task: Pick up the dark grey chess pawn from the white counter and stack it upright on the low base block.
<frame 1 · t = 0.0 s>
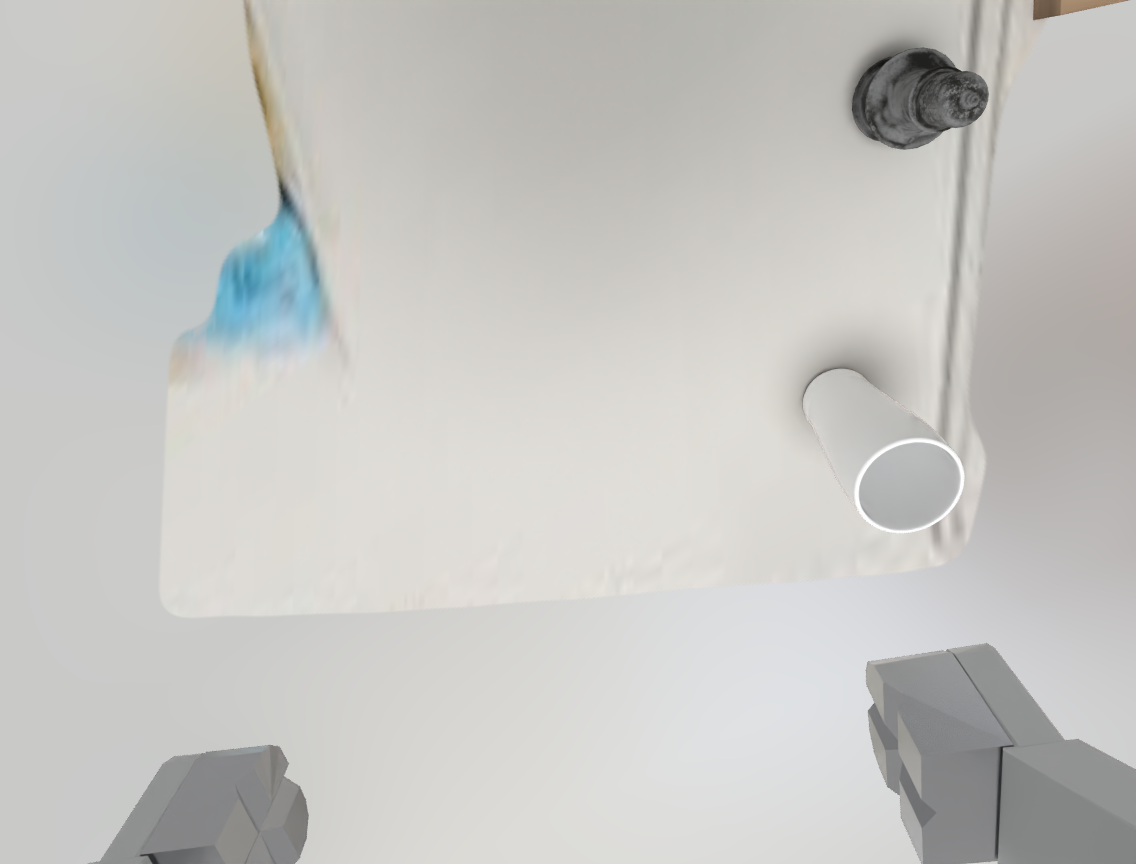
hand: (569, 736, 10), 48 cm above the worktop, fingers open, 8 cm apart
drinking glass: (834, 397, 59), on the worktop
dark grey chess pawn: (891, 99, 51), on the worktop
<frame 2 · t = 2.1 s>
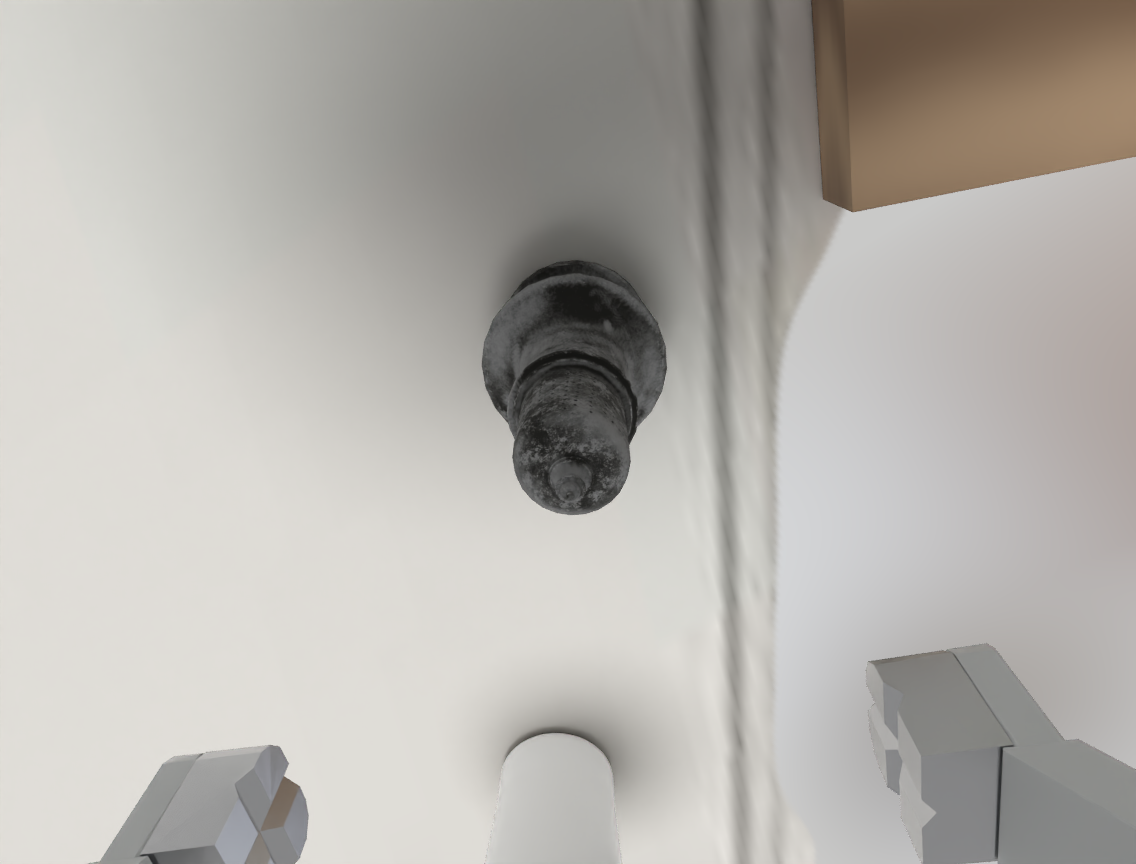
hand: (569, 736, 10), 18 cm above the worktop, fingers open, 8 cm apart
drinking glass: (557, 764, 36), on the worktop
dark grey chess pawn: (575, 332, 27), on the worktop
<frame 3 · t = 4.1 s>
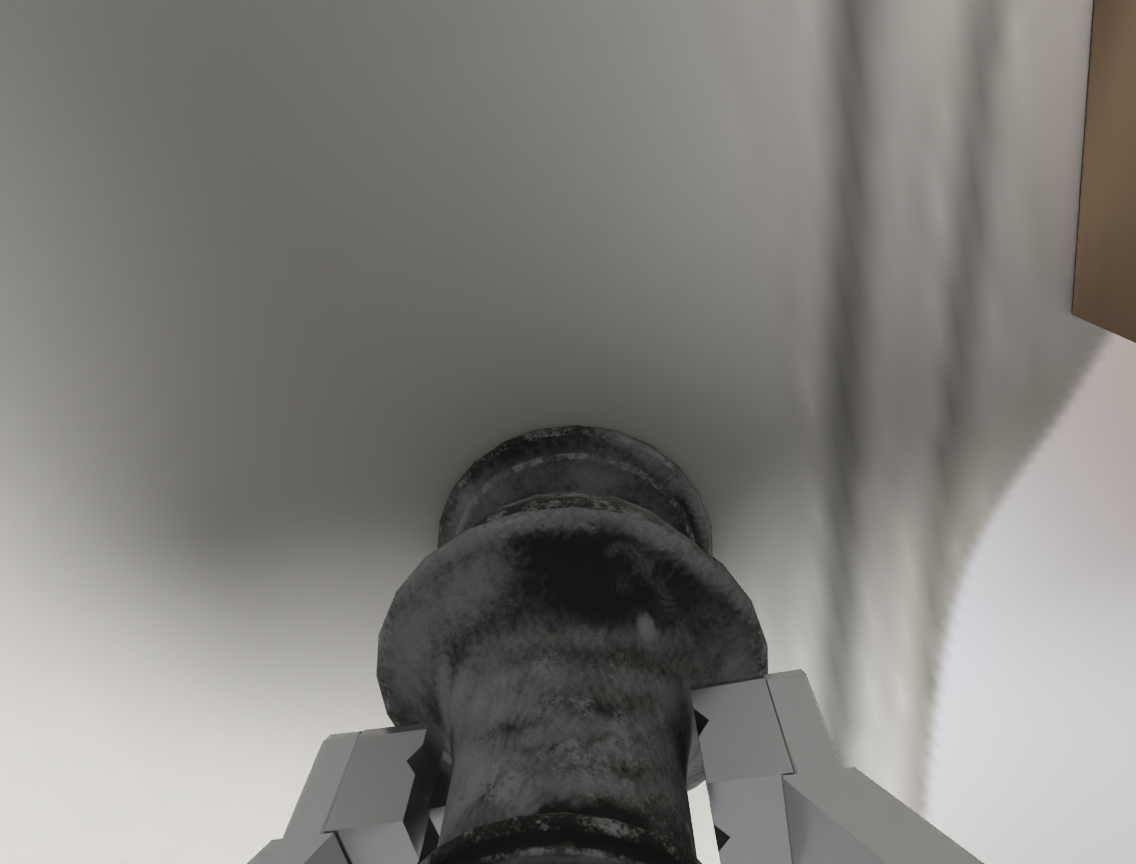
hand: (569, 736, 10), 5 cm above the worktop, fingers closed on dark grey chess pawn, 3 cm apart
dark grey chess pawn: (574, 545, 15), on the worktop, touching gripper
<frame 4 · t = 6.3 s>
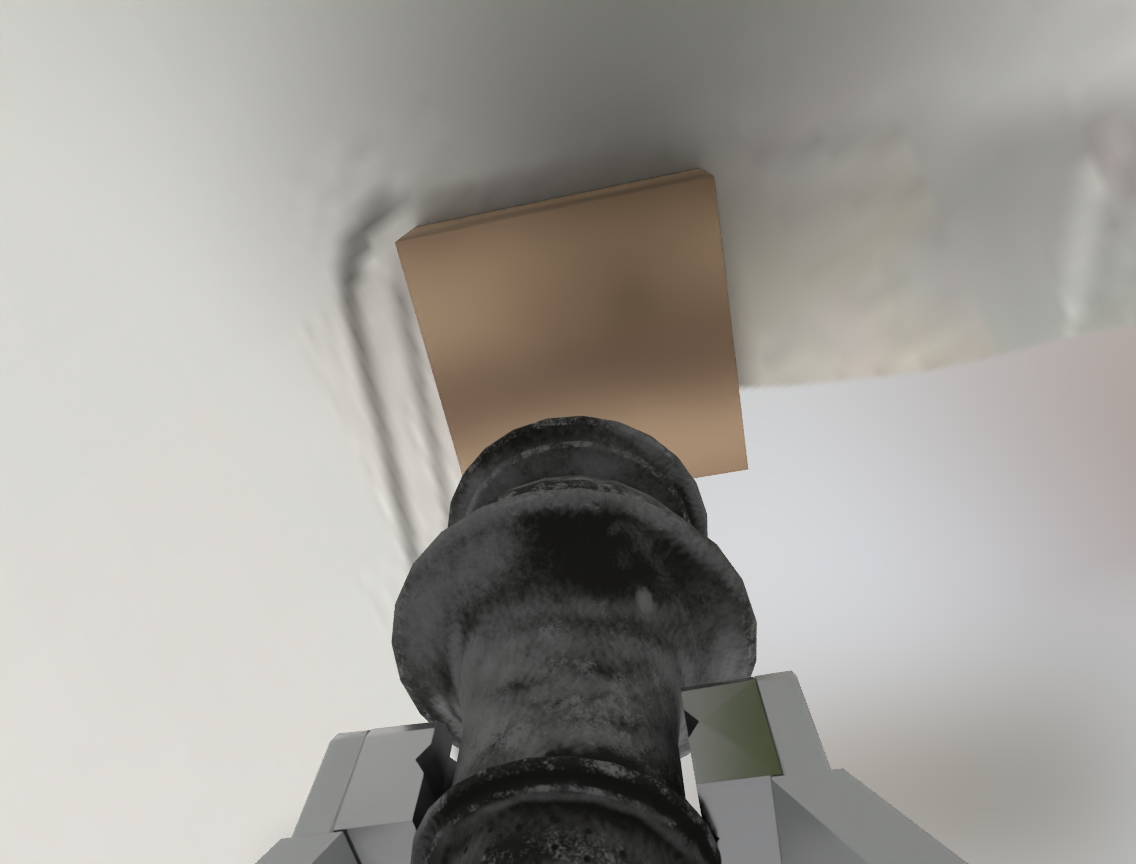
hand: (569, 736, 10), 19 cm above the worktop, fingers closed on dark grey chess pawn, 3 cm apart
base block: (582, 336, 28), on the worktop
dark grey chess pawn: (577, 529, 15), point 13 cm above the worktop, touching gripper
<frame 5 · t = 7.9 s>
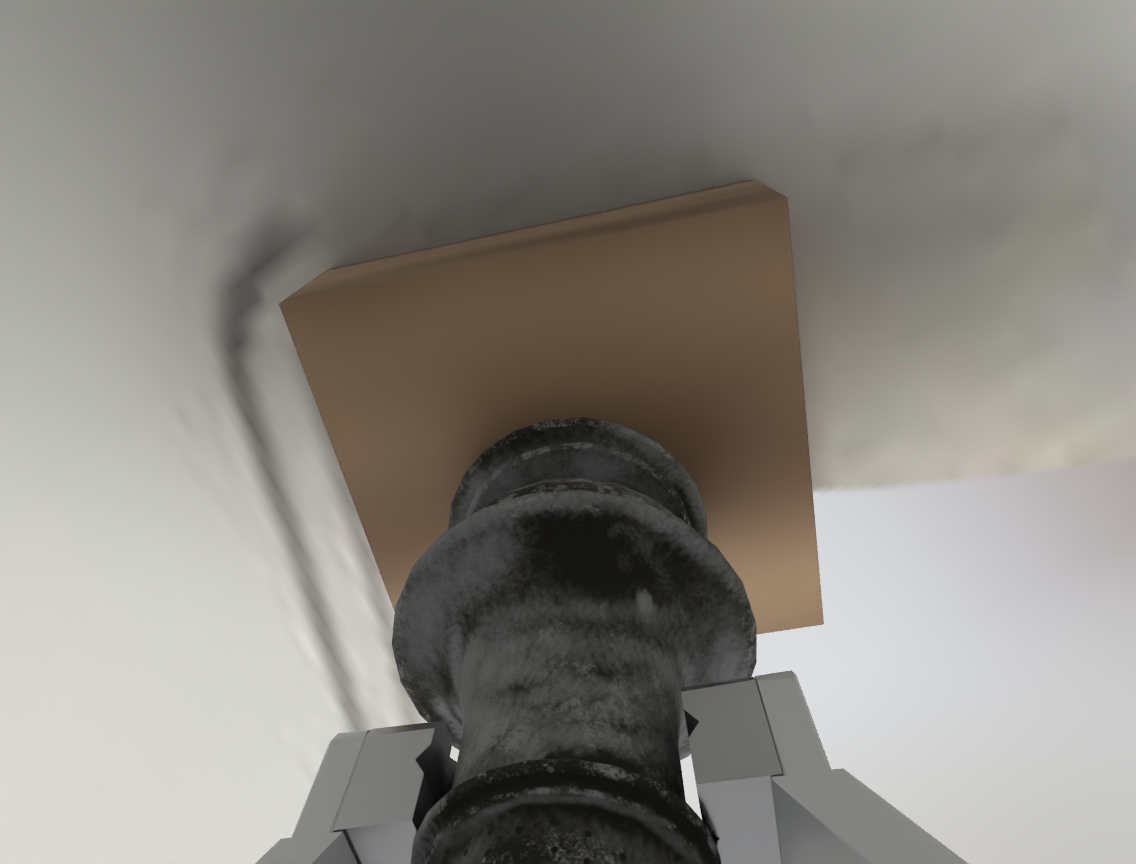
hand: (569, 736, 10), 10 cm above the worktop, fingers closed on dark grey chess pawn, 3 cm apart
base block: (577, 423, 19), on the worktop
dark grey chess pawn: (577, 531, 15), point 4 cm above the worktop, touching gripper
when the fingers open (9 cm above the worktop, at t = 8.5 s): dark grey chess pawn stays where it is, resting on base block.
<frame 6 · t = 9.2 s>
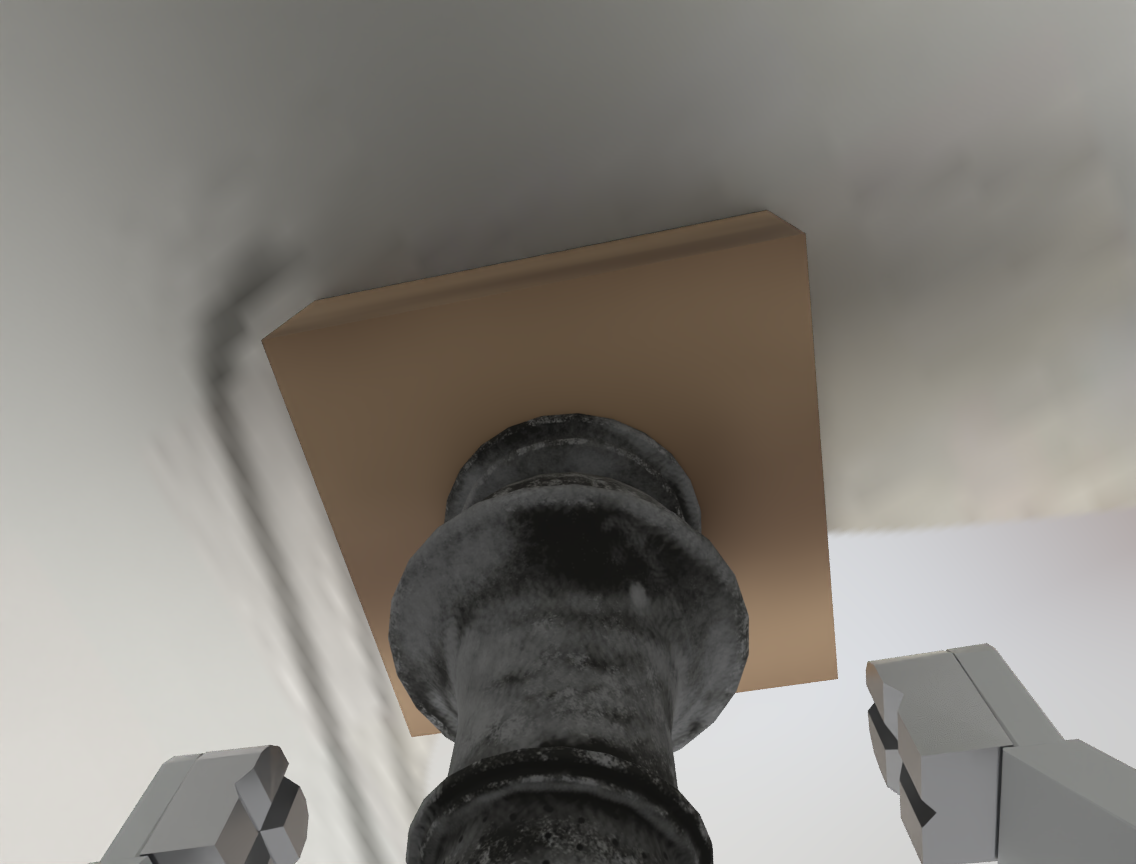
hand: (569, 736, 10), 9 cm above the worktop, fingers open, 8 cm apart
base block: (578, 461, 18), on the worktop
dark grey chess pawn: (572, 526, 16), point 3 cm above the worktop, touching base block
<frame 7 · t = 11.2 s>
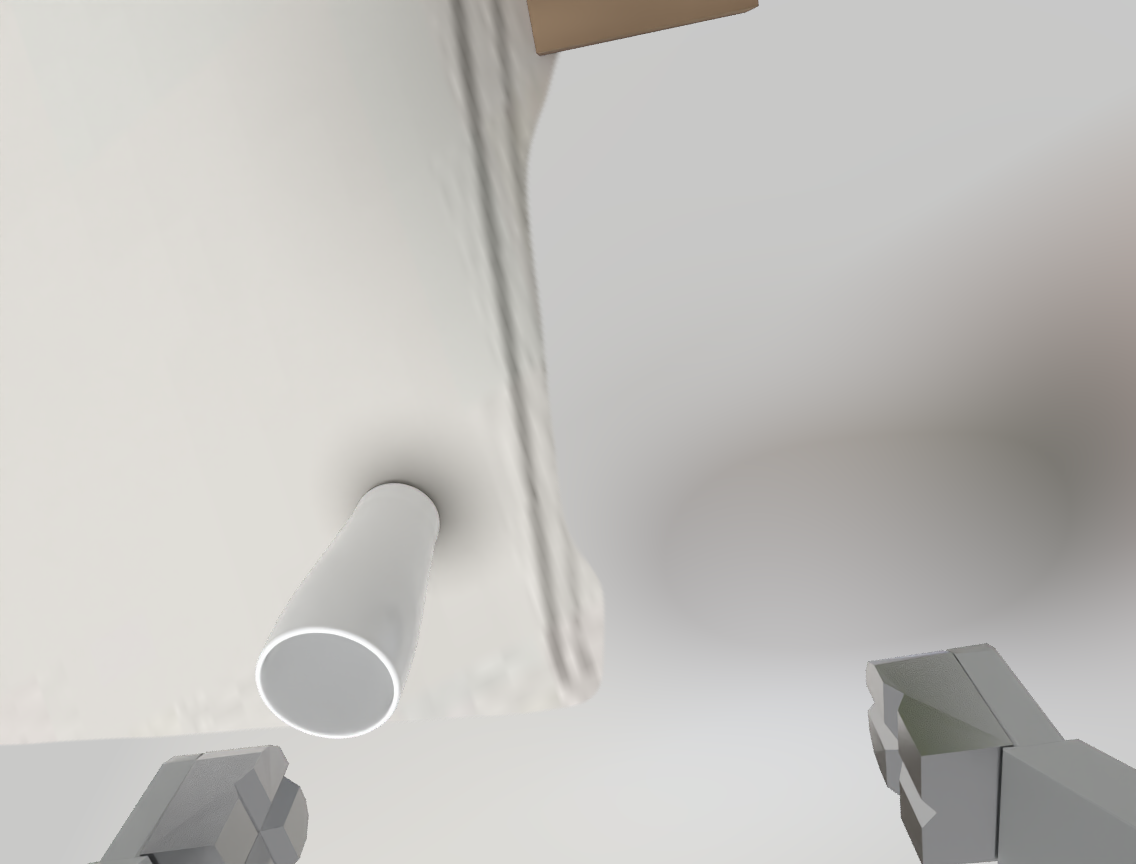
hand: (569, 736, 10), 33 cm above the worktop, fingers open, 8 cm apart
drinking glass: (400, 514, 48), on the worktop
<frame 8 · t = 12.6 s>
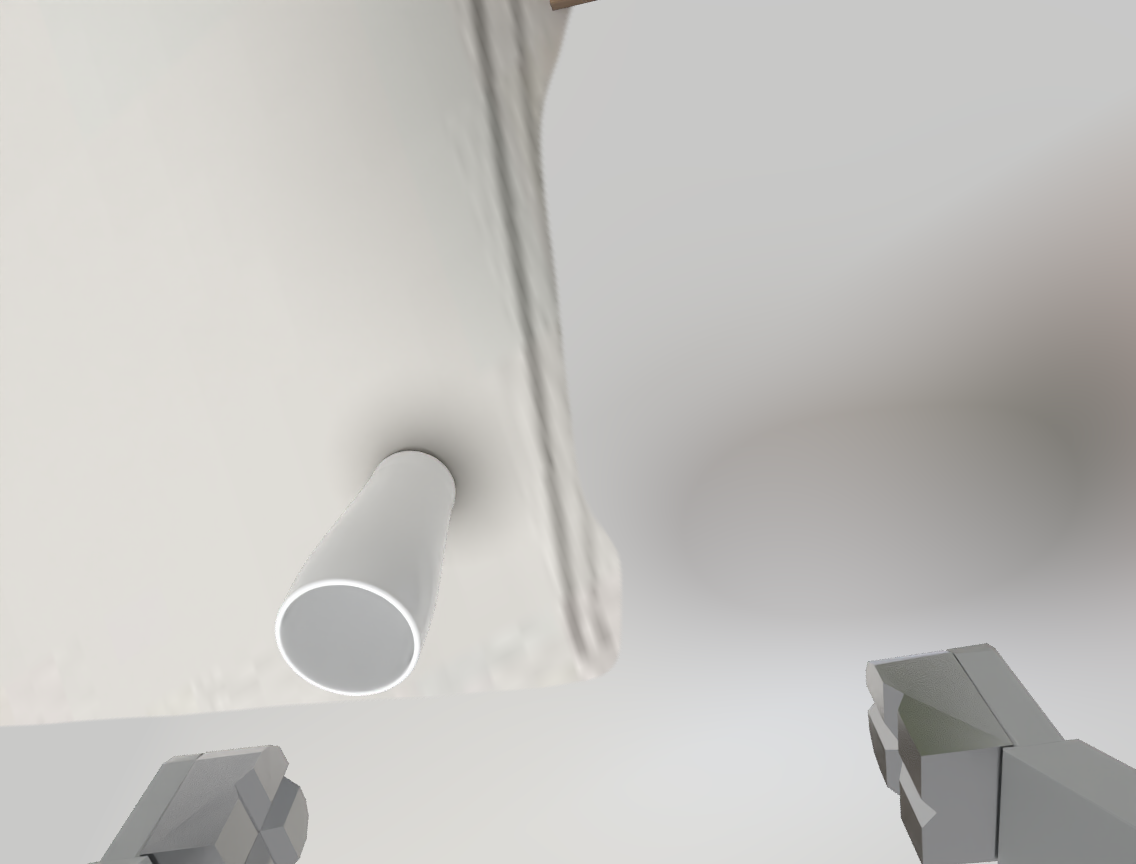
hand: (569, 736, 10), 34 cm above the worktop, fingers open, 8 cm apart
drinking glass: (416, 483, 48), on the worktop
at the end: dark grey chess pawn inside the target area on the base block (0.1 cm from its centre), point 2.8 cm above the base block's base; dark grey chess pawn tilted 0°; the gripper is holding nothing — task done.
